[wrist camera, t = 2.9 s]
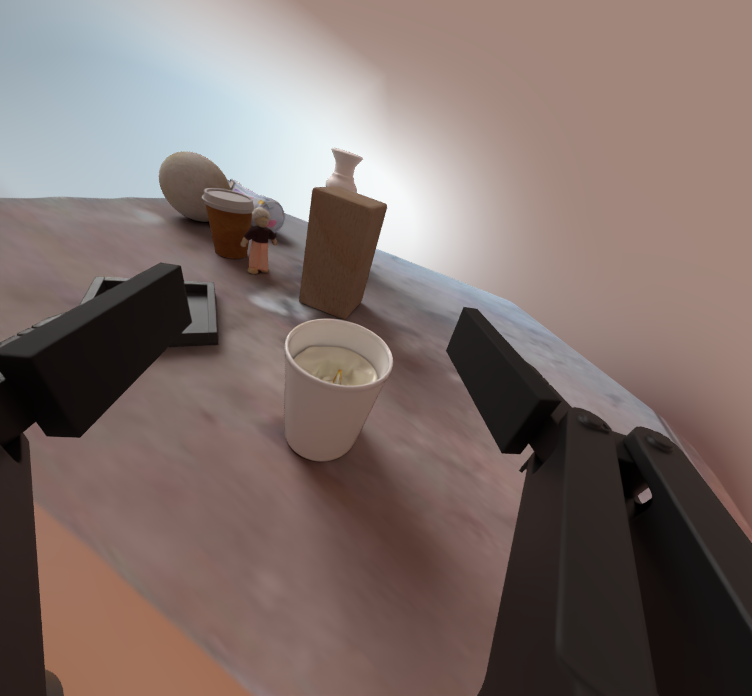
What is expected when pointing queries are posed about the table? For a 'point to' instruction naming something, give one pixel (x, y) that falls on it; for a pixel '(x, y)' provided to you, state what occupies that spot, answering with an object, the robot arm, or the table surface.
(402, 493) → the table surface
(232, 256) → the disposable coffee cup
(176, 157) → the decorative sphere
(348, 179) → the vase
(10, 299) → the table surface
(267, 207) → the pencil case
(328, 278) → the wooden block
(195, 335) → the black tray
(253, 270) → the grandmother figurine
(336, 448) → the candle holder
